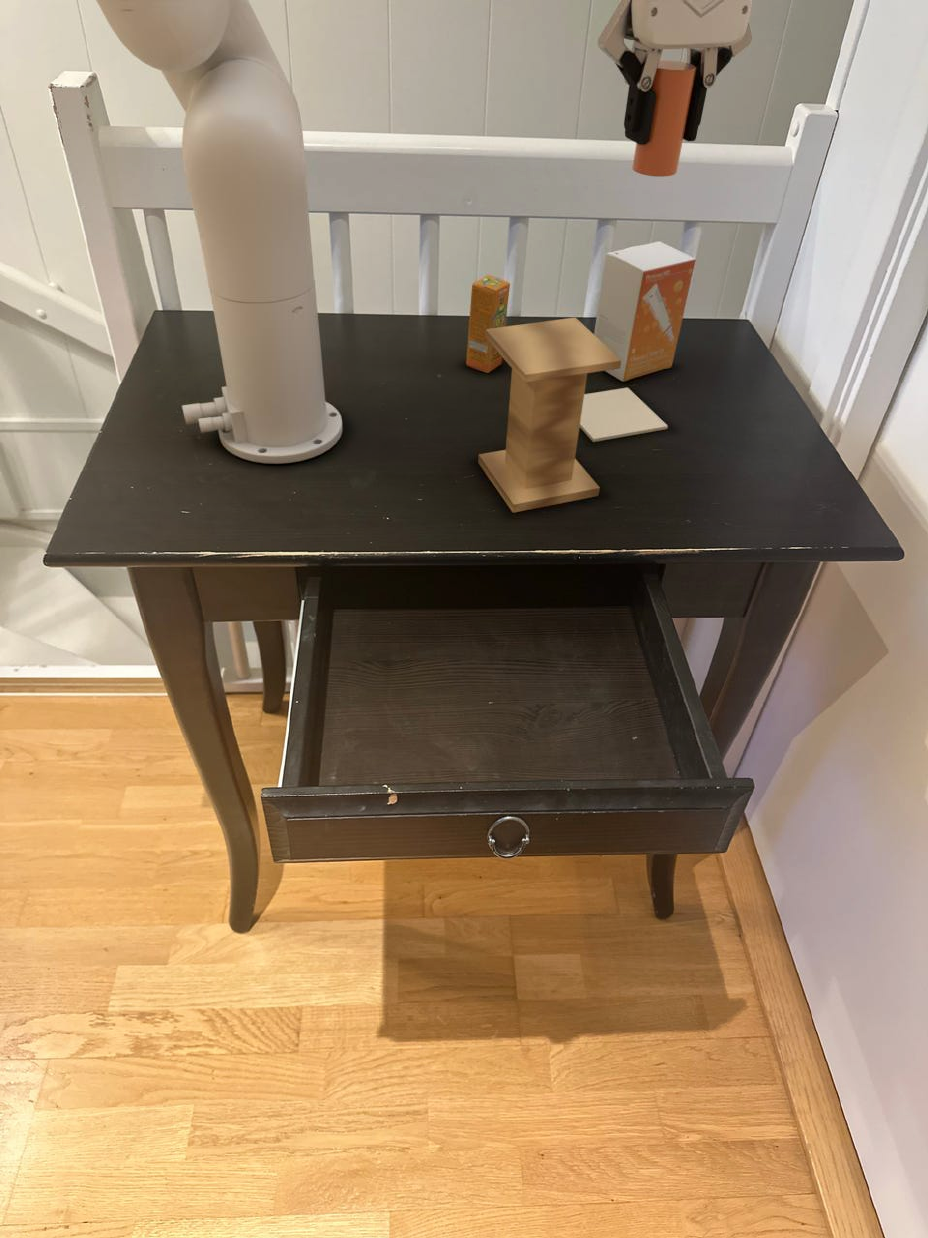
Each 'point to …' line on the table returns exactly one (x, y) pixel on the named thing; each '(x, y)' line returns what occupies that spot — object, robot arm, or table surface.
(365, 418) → the table surface
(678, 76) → the orange cylinder
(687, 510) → the table surface
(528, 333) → the birch stand
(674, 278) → the small box
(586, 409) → the cream coaster
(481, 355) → the supplement box
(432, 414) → the table surface
